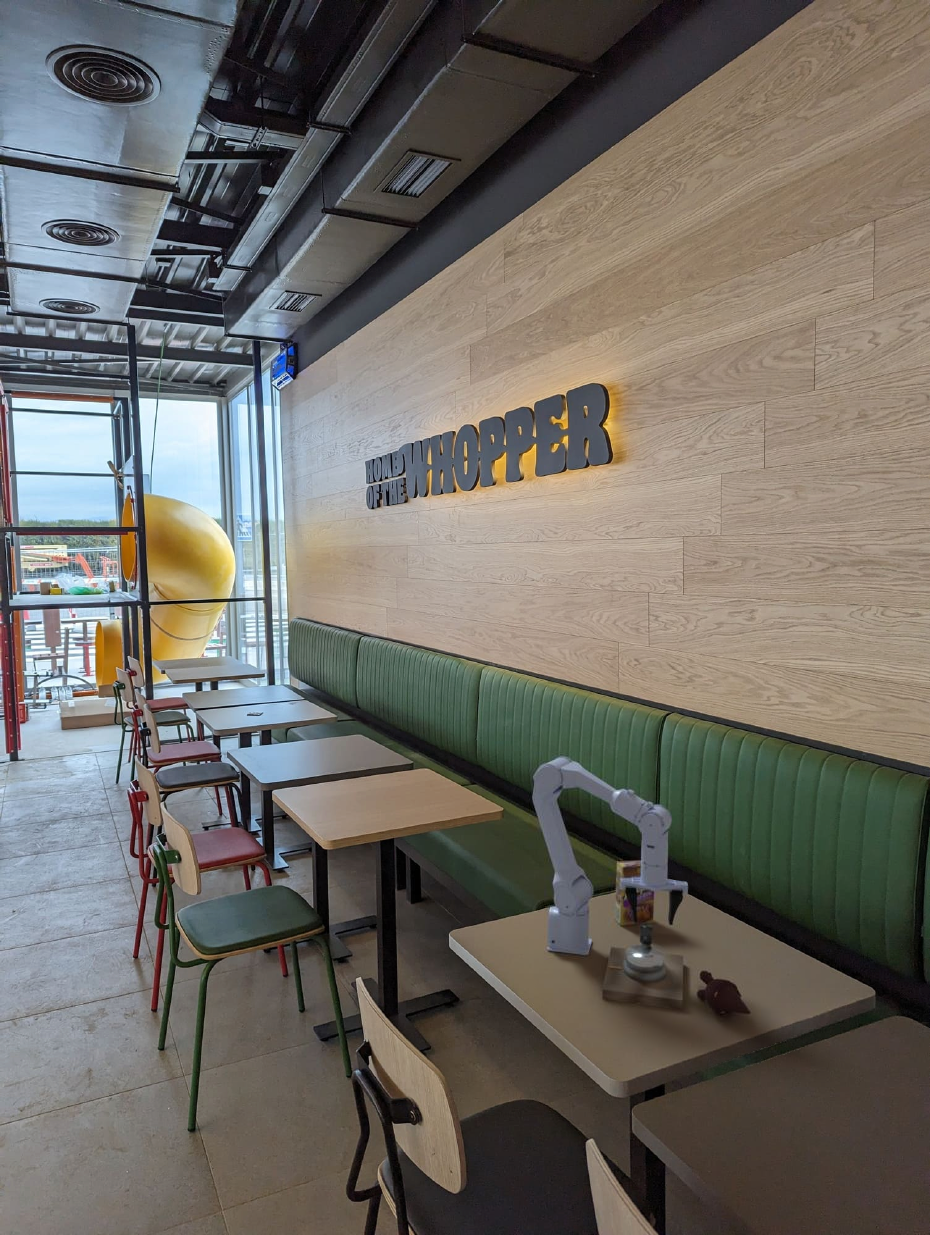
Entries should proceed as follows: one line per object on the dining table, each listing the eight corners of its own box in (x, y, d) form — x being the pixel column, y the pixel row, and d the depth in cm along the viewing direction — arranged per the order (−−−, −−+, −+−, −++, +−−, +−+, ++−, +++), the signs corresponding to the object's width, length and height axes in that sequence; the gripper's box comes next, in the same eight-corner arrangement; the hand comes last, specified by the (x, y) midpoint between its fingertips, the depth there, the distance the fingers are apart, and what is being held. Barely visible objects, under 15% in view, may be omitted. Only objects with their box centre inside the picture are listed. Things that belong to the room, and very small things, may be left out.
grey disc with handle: (663, 974, 173) (663, 948, 173) (624, 969, 175) (624, 943, 175) (664, 950, 184) (665, 925, 184) (628, 946, 186) (628, 921, 186)
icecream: (767, 995, 160) (716, 967, 174) (737, 992, 157) (688, 964, 171) (761, 1032, 159) (710, 1001, 173) (731, 1030, 157) (682, 999, 171)
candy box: (621, 927, 205) (622, 866, 204) (614, 919, 209) (615, 860, 209) (654, 923, 207) (655, 864, 206) (647, 916, 211) (648, 858, 210)
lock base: (602, 998, 171) (602, 982, 171) (611, 955, 190) (611, 940, 190) (682, 1009, 167) (682, 993, 166) (683, 964, 186) (683, 949, 186)
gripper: (622, 866, 180) (620, 927, 181) (690, 870, 178) (688, 932, 179) (620, 855, 187) (618, 914, 188) (686, 859, 185) (684, 918, 186)
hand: (652, 922), depth 184 cm, fingers open, 7 cm apart
